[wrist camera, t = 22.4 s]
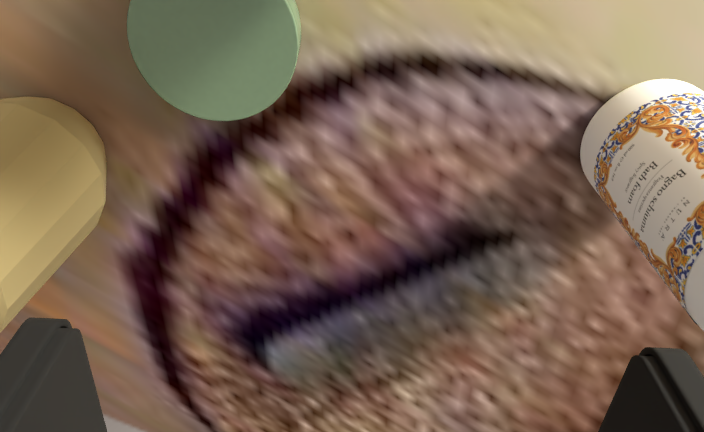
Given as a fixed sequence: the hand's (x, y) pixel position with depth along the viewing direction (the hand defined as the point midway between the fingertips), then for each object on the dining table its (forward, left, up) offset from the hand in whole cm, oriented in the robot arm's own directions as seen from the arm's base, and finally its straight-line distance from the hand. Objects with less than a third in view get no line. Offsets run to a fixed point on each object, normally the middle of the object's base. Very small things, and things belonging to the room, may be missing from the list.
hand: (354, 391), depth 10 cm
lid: (+2, +6, -19) cm, 20 cm away
